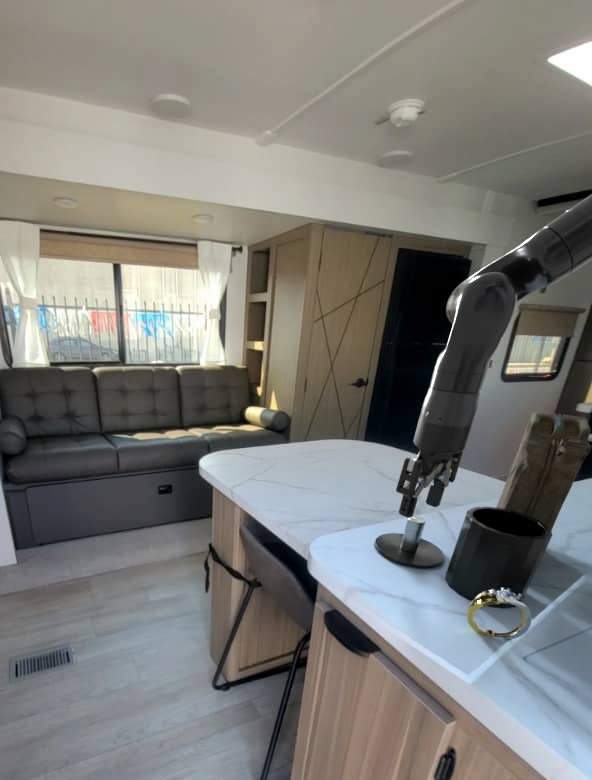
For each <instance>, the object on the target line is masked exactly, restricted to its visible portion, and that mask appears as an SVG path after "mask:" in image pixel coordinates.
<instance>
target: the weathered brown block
mask: <svg viewBox="0 0 592 780" xmlns="http://www.w3.org/2000/svg"><path fill="white" fill-rule="evenodd" d="M591 432H592V430H591V426H590V424H589V421H588V419H587V418H586V417H585V416H584V417H583V416H578V415H569V414H563V415H562V414H561V413H559V414H557V413H554V412H546V411H545V412H544V411H534V412H533V413H532V414H531V415H530V417H529V420H528V423H527V425H526V428H525V431H524V434H523V436H522V439H521V441H520V444H519V447H518V448H517V452H516V454H515V456H514V460H513V462H512V464H511V467H510V470H509V473H508V475H507V478H506V481H505V484H504V486H503V489H502V491H501V493H500V496H499V500H498V502H497V505H496V507H495V508H502V509H507V510H511V511H516V512H519V513H522V514H525V515H528V516H530V517H533V518H535V519H537V520H539V521H541V522H543V523H544V524H545V525H547V526H548V527H549V528H550V529H551V531H552V530H553V528H554V526H555V524H556V522H557V519H558V516H559V514H560V511H561V509H562V507H563V505H564V503H565V502H566V499H567V497H568V495H569V494H570V491H571V489H572V487H573V485H574V484H573V483H574V481H575V480H576V478H577V476H578V474H579V471H580V469H581V467H582V464H583V463H584V461H585V459H586V457H588V456H589V454H590V453H591V450H592V444H590V443H589V442H588V440H589V437H590V434H591Z"/></svg>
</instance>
